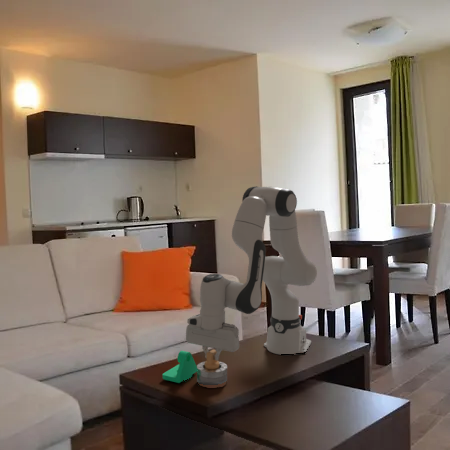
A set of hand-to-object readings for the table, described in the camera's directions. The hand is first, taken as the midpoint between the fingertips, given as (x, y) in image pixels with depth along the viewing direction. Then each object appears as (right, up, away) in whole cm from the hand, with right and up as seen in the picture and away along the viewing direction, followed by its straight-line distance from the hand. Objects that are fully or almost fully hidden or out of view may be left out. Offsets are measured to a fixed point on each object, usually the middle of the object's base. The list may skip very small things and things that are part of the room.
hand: (212, 358), depth 192 cm
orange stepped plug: (0, -3, 0) cm, 3 cm away
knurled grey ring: (0, -9, +1) cm, 9 cm away
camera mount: (-12, -9, +6) cm, 16 cm away
